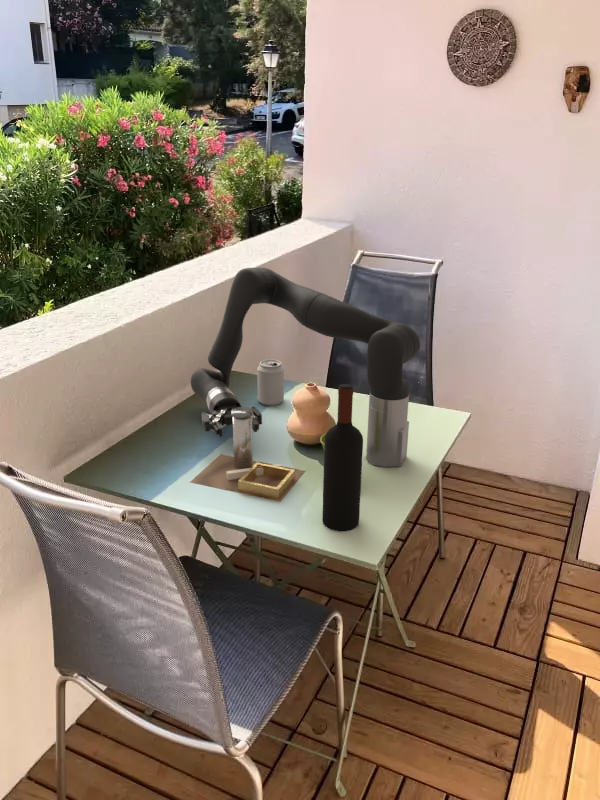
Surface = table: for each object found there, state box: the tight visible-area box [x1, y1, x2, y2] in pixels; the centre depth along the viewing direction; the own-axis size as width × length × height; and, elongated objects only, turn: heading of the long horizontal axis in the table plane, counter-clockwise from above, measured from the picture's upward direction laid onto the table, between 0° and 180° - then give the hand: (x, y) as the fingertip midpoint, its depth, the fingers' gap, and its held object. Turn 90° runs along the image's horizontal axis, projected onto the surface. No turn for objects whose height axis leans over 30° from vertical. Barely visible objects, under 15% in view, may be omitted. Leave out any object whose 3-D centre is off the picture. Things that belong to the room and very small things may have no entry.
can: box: [256, 358, 285, 407], centre depth 206 cm, size 8×8×12 cm
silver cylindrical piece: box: [231, 406, 254, 469], centre depth 167 cm, size 5×5×14 cm
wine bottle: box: [321, 383, 364, 533], centre depth 144 cm, size 8×8×30 cm
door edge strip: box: [226, 463, 284, 480], centre depth 165 cm, size 1×13×2 cm, turn 108°
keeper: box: [238, 461, 295, 499], centre depth 161 cm, size 10×10×2 cm
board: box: [189, 454, 306, 503], centre depth 165 cm, size 22×15×1 cm
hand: (238, 430), depth 171 cm, fingers open, 8 cm apart
